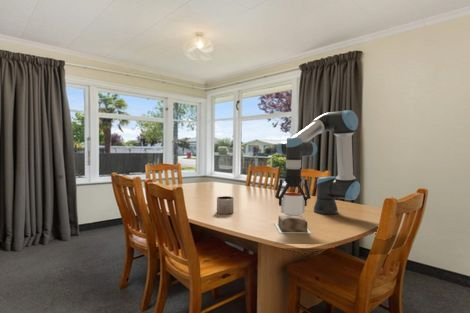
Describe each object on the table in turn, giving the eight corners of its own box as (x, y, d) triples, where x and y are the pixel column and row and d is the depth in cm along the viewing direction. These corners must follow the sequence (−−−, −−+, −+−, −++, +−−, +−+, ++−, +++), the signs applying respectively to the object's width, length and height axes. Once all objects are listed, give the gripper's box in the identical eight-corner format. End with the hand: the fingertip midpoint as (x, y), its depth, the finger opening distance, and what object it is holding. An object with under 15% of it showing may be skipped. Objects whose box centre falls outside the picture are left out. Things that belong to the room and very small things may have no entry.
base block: (301, 225, 144) (301, 215, 144) (307, 232, 132) (307, 222, 132) (278, 224, 144) (278, 215, 144) (282, 232, 132) (282, 221, 132)
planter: (213, 213, 173) (213, 198, 173) (221, 209, 183) (221, 195, 183) (229, 215, 169) (229, 199, 168) (236, 211, 179) (236, 196, 179)
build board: (303, 226, 146) (303, 223, 146) (312, 236, 130) (312, 233, 130) (273, 226, 146) (274, 223, 146) (278, 236, 130) (278, 233, 130)
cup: (280, 211, 142) (280, 192, 142) (298, 211, 143) (299, 192, 143) (285, 216, 132) (285, 196, 132) (305, 216, 133) (305, 196, 133)
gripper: (313, 168, 141) (312, 210, 142) (269, 167, 141) (269, 210, 141) (318, 169, 133) (317, 214, 134) (271, 168, 133) (271, 214, 134)
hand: (292, 212), depth 138 cm, fingers closed on cup, 10 cm apart
